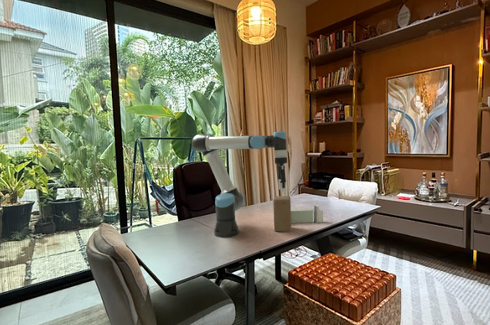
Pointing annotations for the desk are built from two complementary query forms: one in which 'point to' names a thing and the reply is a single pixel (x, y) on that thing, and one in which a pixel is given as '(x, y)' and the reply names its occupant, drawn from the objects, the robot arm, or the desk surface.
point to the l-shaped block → (318, 214)
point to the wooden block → (282, 213)
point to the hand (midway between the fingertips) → (282, 191)
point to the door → (301, 216)
